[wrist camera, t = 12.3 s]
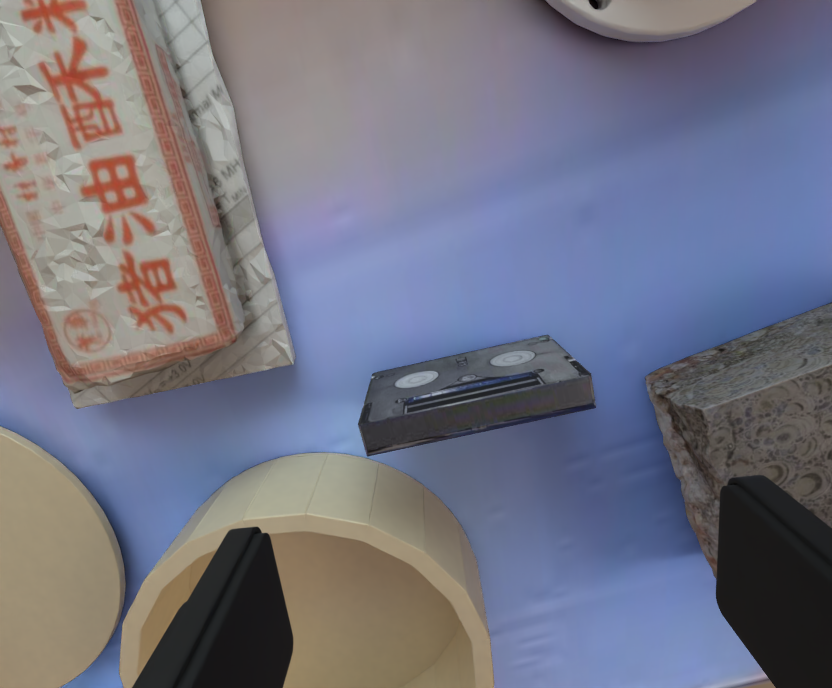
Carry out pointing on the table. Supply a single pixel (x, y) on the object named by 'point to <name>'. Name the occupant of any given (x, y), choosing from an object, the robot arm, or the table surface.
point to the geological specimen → (751, 418)
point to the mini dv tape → (472, 394)
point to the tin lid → (52, 570)
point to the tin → (338, 576)
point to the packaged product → (131, 199)
